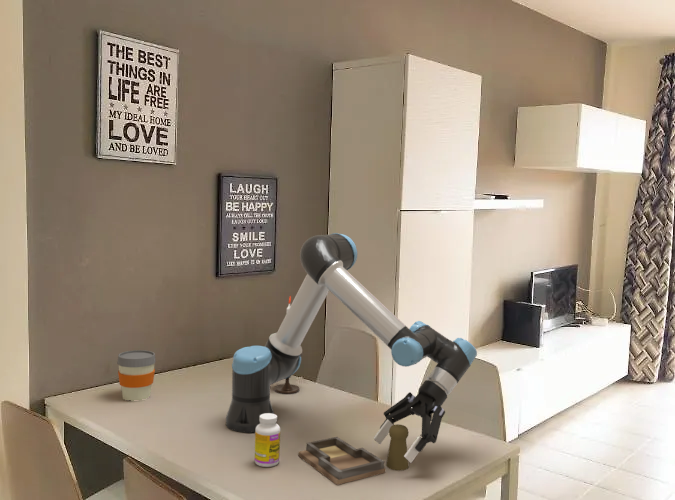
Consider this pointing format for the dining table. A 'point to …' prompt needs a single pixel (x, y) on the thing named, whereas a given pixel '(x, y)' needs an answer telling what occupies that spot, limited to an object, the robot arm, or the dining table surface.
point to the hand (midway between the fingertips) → (391, 450)
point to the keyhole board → (341, 460)
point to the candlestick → (287, 387)
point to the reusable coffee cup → (136, 373)
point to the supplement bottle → (267, 441)
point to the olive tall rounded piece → (397, 448)
